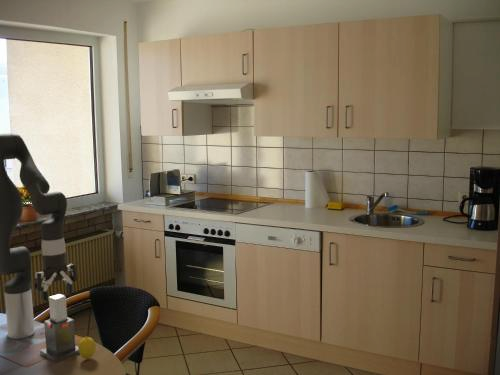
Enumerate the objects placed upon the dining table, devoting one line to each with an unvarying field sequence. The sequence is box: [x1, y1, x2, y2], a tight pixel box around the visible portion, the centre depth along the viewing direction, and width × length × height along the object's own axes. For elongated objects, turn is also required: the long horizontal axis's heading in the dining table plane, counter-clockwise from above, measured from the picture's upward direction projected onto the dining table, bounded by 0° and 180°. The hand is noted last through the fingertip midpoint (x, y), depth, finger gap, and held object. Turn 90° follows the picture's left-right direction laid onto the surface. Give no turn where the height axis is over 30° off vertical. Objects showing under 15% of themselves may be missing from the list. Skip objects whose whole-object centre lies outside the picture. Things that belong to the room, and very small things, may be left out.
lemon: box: [78, 336, 97, 360], centre depth 182 cm, size 6×6×8 cm
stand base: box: [39, 316, 80, 363], centre depth 186 cm, size 10×10×12 cm
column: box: [48, 293, 68, 324], centre depth 186 cm, size 4×4×19 cm
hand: (57, 297), depth 184 cm, fingers open, 8 cm apart
